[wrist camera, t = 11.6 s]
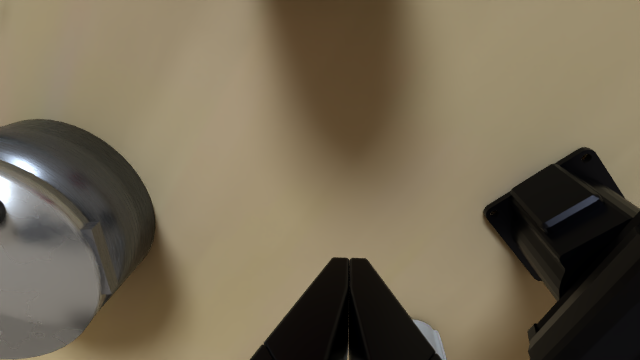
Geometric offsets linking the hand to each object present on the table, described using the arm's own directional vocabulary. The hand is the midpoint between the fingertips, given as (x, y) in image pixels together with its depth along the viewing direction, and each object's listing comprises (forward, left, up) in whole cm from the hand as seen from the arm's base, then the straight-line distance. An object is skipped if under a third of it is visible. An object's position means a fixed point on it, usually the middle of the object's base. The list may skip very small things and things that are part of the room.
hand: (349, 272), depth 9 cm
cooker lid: (+8, +18, -7) cm, 21 cm away
